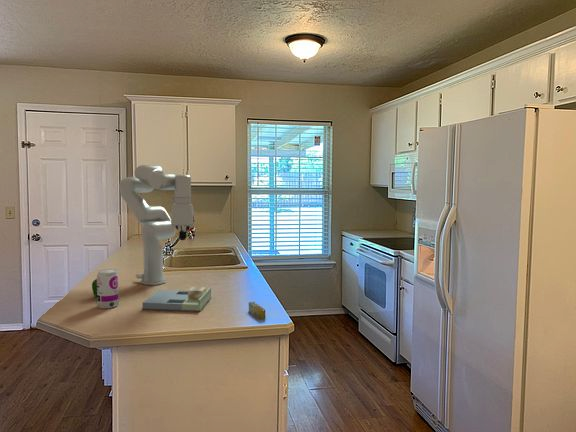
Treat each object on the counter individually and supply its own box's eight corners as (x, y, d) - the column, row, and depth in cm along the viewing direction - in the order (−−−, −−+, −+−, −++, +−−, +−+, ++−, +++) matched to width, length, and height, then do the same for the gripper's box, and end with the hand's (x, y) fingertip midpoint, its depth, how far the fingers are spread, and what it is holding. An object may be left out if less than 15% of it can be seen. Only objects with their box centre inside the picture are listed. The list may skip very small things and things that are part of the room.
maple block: (188, 299, 184) (188, 290, 184) (192, 295, 190) (192, 286, 190) (202, 300, 184) (202, 290, 184) (205, 296, 190) (205, 287, 190)
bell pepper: (87, 298, 194) (87, 276, 193) (101, 293, 202) (101, 272, 201) (102, 300, 191) (101, 278, 190) (116, 295, 199) (115, 274, 198)
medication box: (248, 311, 181) (248, 302, 180) (254, 310, 182) (254, 301, 181) (259, 320, 170) (259, 310, 169) (265, 319, 171) (265, 309, 171)
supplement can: (122, 304, 186) (122, 270, 184) (108, 310, 178) (108, 274, 177) (107, 302, 188) (106, 268, 187) (93, 307, 181) (92, 272, 179)
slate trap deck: (142, 309, 179) (142, 297, 179) (159, 296, 199) (159, 285, 199) (199, 311, 178) (199, 299, 178) (211, 298, 198) (211, 287, 197)
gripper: (164, 201, 201) (164, 240, 203) (196, 202, 201) (196, 241, 202) (169, 200, 209) (170, 238, 211) (200, 201, 208) (200, 239, 210)
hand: (182, 239), depth 206 cm, fingers closed
